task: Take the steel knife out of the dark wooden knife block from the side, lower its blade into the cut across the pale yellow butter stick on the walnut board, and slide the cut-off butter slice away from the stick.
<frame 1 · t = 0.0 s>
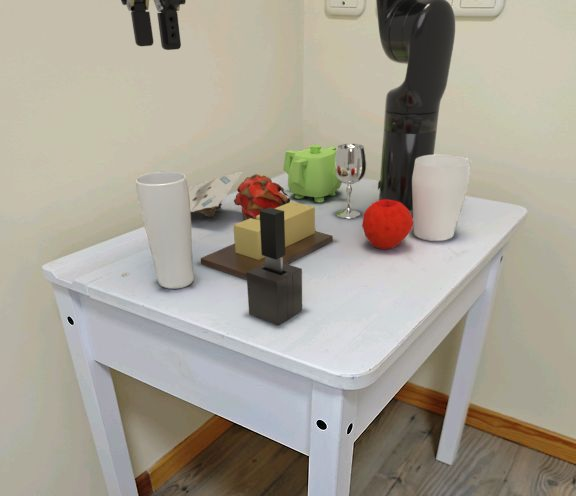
hand: (157, 47, 70), 29 cm above the table, tool pointing down, fingers open, 8 cm apart
butter slice: (255, 252, 89), point 1 cm above the table, touching butter board
dragon fruit: (264, 220, 104), on the table
butter block: (286, 238, 93), point 1 cm above the table, touching butter board
knife block: (275, 312, 74), on the table
teapot: (316, 196, 115), on the table
butter board: (269, 252, 91), on the table
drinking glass: (176, 283, 83), on the table
cup: (433, 235, 96), on the table
apple: (385, 247, 92), on the table
wineglass: (348, 215, 105), on the table
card: (219, 215, 107), on the table
knife: (275, 312, 74), resting in knife block
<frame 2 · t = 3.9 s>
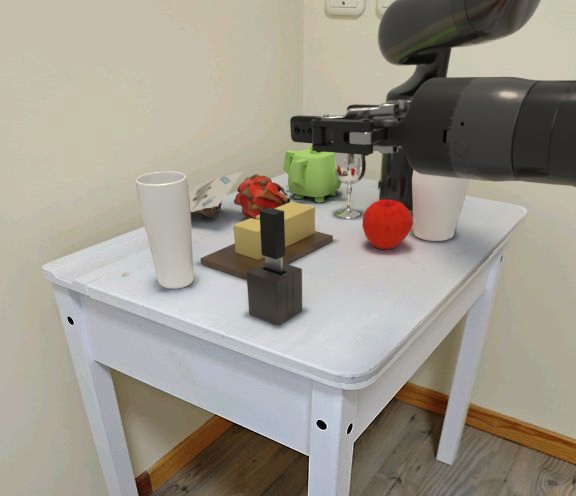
hand: (322, 122, 55), 24 cm above the table, tool horizontal, fingers open, 8 cm apart
nothing on the table moved.
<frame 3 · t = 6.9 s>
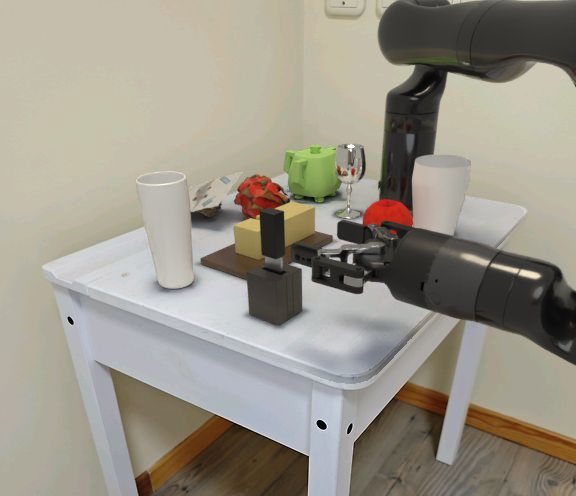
hand: (316, 239, 64), 11 cm above the table, tool horizontal, fingers open, 8 cm apart
nothing on the table moved.
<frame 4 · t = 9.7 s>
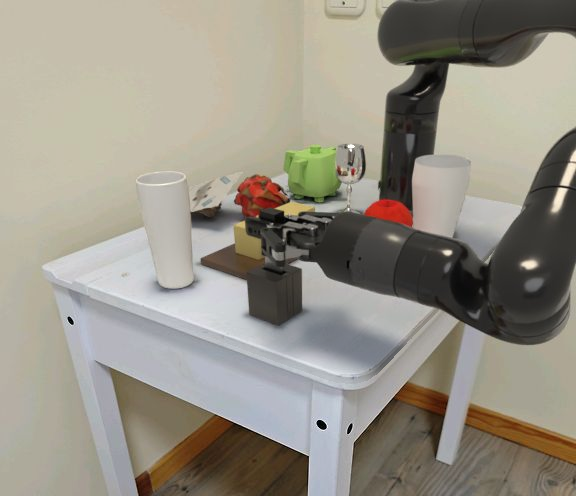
hand: (254, 222, 69), 12 cm above the table, tool horizontal, fingers closed on knife, 2 cm apart
knife: (275, 312, 74), resting in knife block, touching gripper
everything else where it was.
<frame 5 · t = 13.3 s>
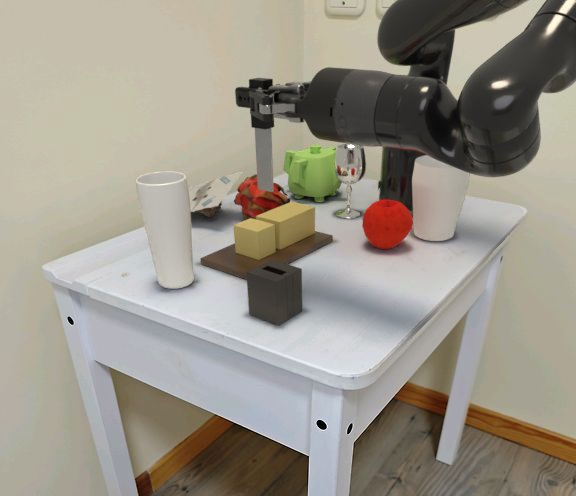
hand: (244, 95, 72), 24 cm above the table, tool horizontal, fingers closed on knife
knife: (265, 190, 77), point 12 cm above the table, touching gripper
everything else where it was.
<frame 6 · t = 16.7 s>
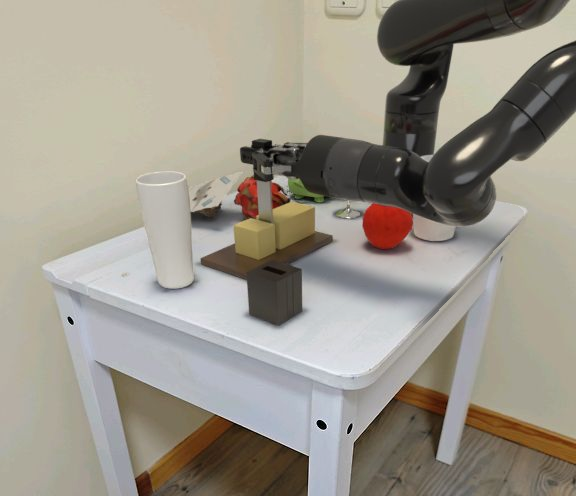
hand: (247, 152, 84), 15 cm above the table, tool horizontal, fingers closed on knife
knife: (266, 231, 89), point 4 cm above the table, touching gripper
everything else where it was.
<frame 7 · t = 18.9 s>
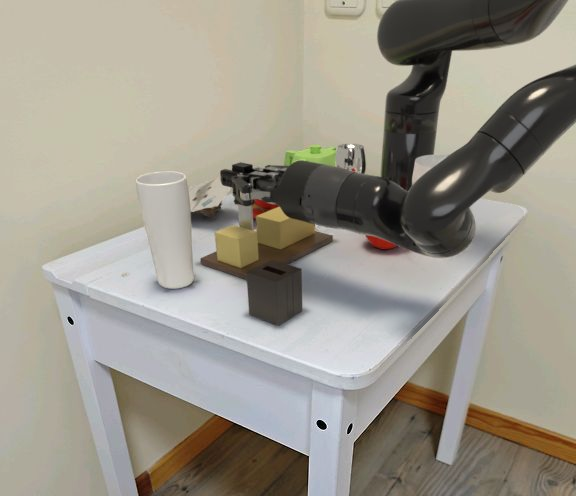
hand: (228, 175, 82), 13 cm above the table, tool horizontal, fingers closed on knife, 2 cm apart
butter slice: (238, 260, 86), point 1 cm above the table, touching butter board, knife
knife: (248, 254, 87), point 1 cm above the table, touching butter slice, gripper
everything else where it was.
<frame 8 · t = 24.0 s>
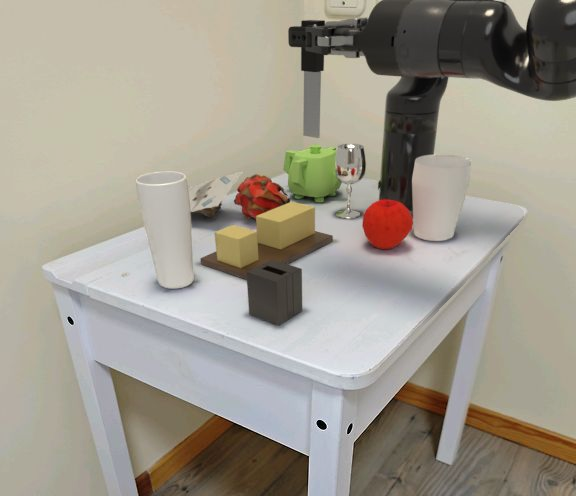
hand: (295, 36, 72), 30 cm above the table, tool horizontal, fingers closed on knife
butter slice: (237, 260, 86), point 1 cm above the table, touching butter board
knife: (311, 136, 78), point 18 cm above the table, touching gripper
everything else where it was.
at the end: butter slice 0.6 cm from the target spot on the table beside the butter block, resting on butter board; butter block moved 0.0 cm from its start; knife point 18.0 cm above the table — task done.
